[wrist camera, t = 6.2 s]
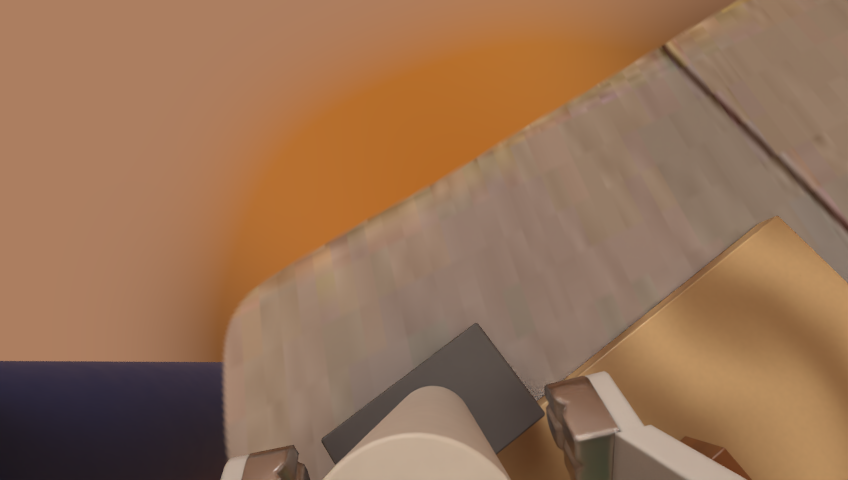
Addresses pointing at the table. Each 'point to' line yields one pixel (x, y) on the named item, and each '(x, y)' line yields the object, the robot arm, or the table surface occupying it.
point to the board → (733, 364)
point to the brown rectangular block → (716, 455)
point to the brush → (438, 419)
